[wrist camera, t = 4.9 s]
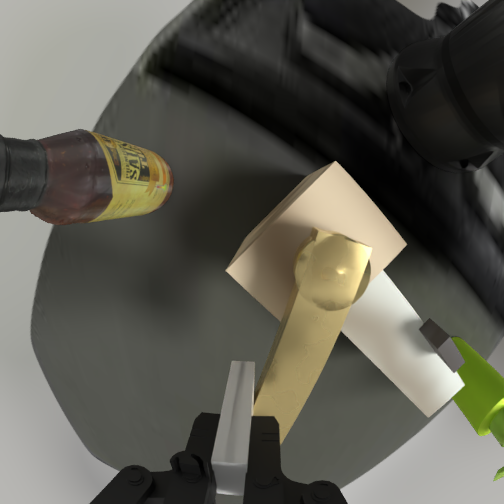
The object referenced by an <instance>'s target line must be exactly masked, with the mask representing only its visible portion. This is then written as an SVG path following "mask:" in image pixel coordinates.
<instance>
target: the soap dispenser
mask: <svg viewBox="0 0 504 504" xmlns="http://www.w3.org/2000/svg"><path fill="white" fill-rule="evenodd" d="M451 339H452V340H453V342H454V344H455V345H456V347H457V349H458V350H459V352H460V354H461V356H462V357H463V359H464V361H465V363H464V364H463V365H462V366H461V367H460V368H459V369H458V370H457V373H458V375H459V376H460V378H461V380H462V381H463V383H464V384H465V385H464V386H463V387H462V388H461V389H460V390H459V391H458V392H457V393H456V394H455V395H454V396H453V397H452V399H453V400H454V401H455V403H456V404H457V405H458V407H459V408H460V410H461V411H462V412H463V414H464V415H465V417H466V418H467V419H468V421H469V422H470V424H471V425H472V427H473V428H474V429H475V431H476V432H477V434H478V435H479V436H484V435H487V434H489V433H491V432H492V434H493V435H494V436H495V438H496V439H497V441H498V442H499V443H500V445H501V446H502V447H504V378H503V377H502V376H501V375H500V374H499V373H498V372H497V371H496V370H495V369H494V368H493V367H492V366H491V365H490V364H489V363H488V362H487V361H486V360H484V359H483V358H482V357H481V356H480V355H479V354H478V353H477V352H476V351H475V350H474V349H473V348H471V347H470V346H469V345H468V344H467V343H466V342H465V341H464V340H463V339H461V338H459V337H453V338H451ZM503 476H504V467H502V468H501V469H499V470H498V472H497V474H496V476H495V478H494V481H496V480H498V479H500V478H501V477H503Z"/></svg>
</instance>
